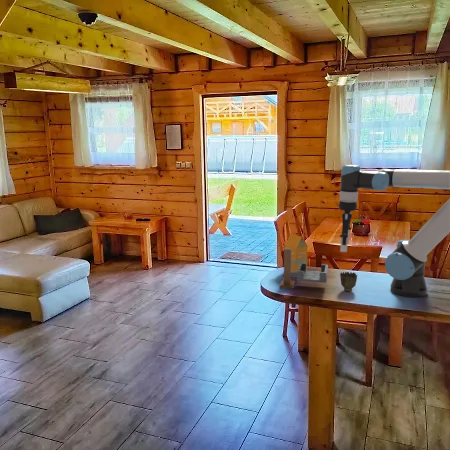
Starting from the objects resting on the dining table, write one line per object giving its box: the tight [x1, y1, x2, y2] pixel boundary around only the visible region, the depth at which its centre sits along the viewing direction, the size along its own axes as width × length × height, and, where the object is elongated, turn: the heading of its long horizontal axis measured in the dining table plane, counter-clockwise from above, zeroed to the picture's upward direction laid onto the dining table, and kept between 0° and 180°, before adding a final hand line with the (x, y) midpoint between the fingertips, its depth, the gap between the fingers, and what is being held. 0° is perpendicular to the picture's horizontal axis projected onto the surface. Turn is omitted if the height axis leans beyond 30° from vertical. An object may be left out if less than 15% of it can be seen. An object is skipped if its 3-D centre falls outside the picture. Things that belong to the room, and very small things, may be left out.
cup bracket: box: [279, 247, 329, 290], centre depth 205 cm, size 21×13×18 cm, turn 74°
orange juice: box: [284, 233, 308, 271], centre depth 225 cm, size 8×9×20 cm
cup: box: [339, 271, 358, 293], centre depth 200 cm, size 8×7×8 cm
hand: (344, 247), depth 198 cm, fingers open, 13 cm apart
